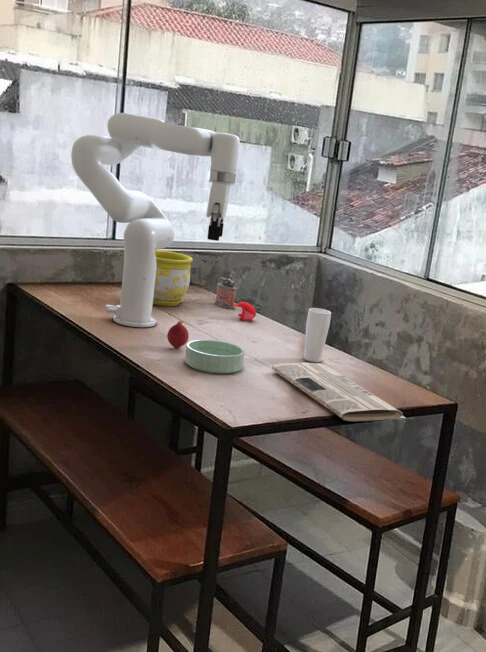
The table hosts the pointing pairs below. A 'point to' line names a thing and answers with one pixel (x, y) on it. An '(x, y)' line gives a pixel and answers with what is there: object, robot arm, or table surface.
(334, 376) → the newspaper
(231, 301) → the lighter
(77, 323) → the table surface
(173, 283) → the flowerpot
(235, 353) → the bowl
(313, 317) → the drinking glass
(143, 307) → the robot arm
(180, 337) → the onion
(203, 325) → the table surface
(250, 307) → the red toy figurine
